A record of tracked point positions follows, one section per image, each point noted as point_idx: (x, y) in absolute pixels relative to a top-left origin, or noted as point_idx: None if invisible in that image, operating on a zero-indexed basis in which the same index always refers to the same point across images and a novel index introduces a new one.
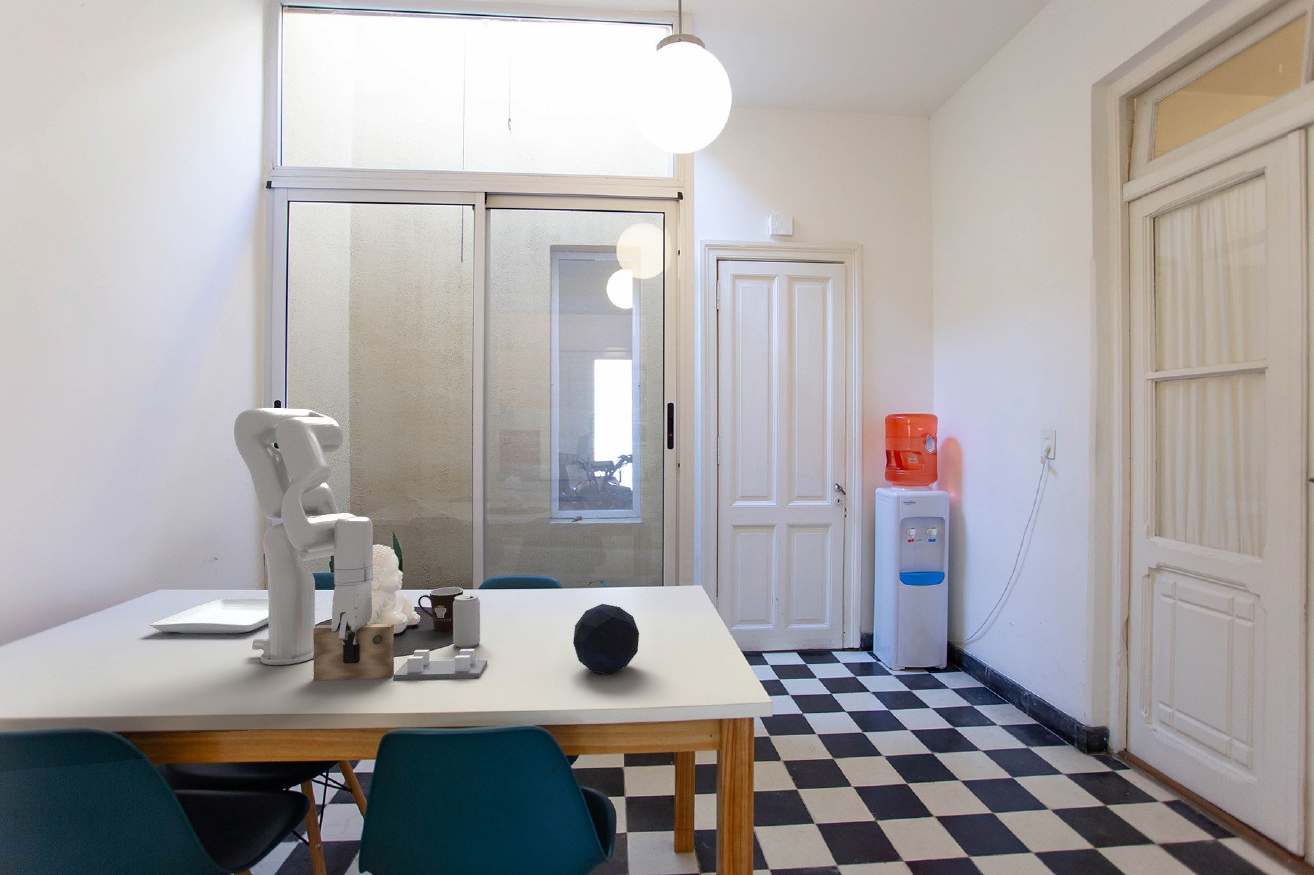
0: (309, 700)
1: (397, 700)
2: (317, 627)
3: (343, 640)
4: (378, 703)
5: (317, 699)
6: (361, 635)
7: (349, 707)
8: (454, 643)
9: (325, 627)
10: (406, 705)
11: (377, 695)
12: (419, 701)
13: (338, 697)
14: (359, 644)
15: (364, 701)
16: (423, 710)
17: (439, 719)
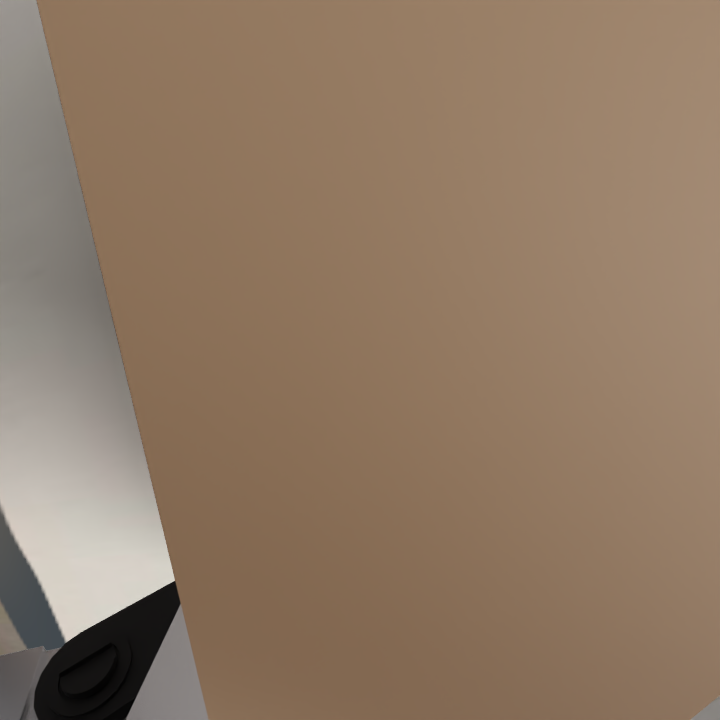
0: (16, 211)
1: (109, 556)
2: (303, 22)
3: (95, 635)
4: (70, 511)
5: (42, 256)
6: None
7: (4, 429)
8: (709, 709)
9: (269, 606)
10: (76, 578)
11: (143, 500)
12: (114, 602)
13: (92, 359)
14: None
15: (75, 468)
16: (54, 610)
17: (13, 634)
